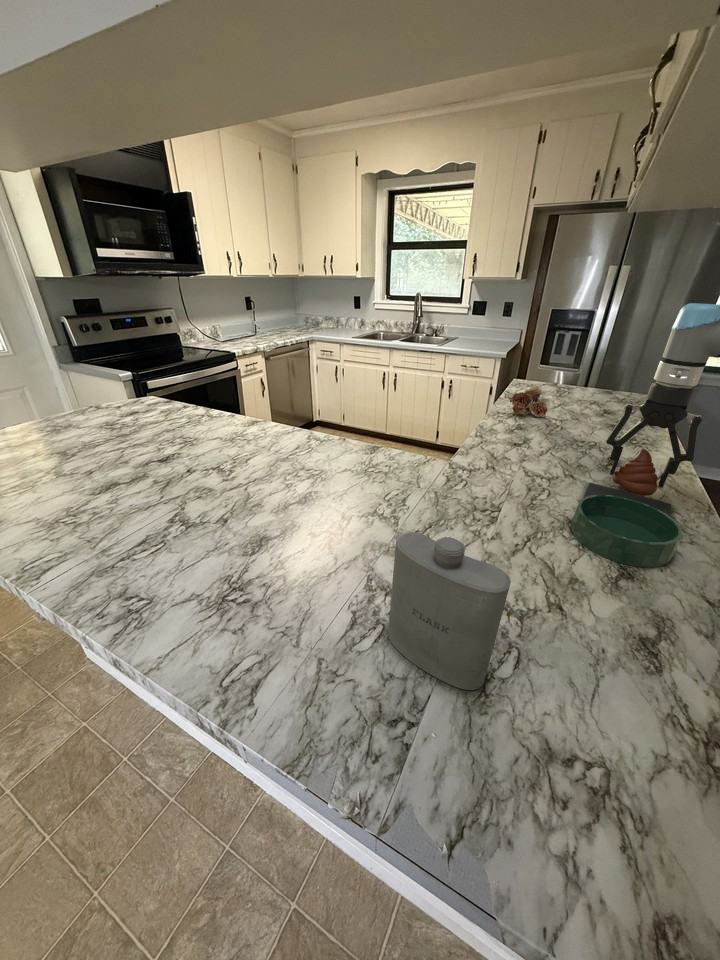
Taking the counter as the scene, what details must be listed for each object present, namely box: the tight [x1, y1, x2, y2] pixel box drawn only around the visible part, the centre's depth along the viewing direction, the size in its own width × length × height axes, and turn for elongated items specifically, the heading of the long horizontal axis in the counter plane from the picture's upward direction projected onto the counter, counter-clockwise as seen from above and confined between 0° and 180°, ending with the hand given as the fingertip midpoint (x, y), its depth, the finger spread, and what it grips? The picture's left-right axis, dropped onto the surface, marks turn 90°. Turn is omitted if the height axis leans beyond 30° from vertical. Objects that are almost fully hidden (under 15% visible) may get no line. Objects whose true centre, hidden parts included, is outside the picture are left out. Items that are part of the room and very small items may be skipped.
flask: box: [387, 531, 512, 691], centre depth 52 cm, size 15×6×20 cm, turn 52°
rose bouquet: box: [508, 386, 548, 418], centre depth 156 cm, size 13×16×15 cm
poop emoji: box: [611, 448, 663, 497], centre depth 92 cm, size 10×8×9 cm
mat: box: [582, 482, 672, 518], centre depth 97 cm, size 18×12×1 cm, turn 55°
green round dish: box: [570, 495, 684, 569], centre depth 82 cm, size 18×18×6 cm
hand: (635, 478), depth 93 cm, fingers closed on poop emoji, 9 cm apart
